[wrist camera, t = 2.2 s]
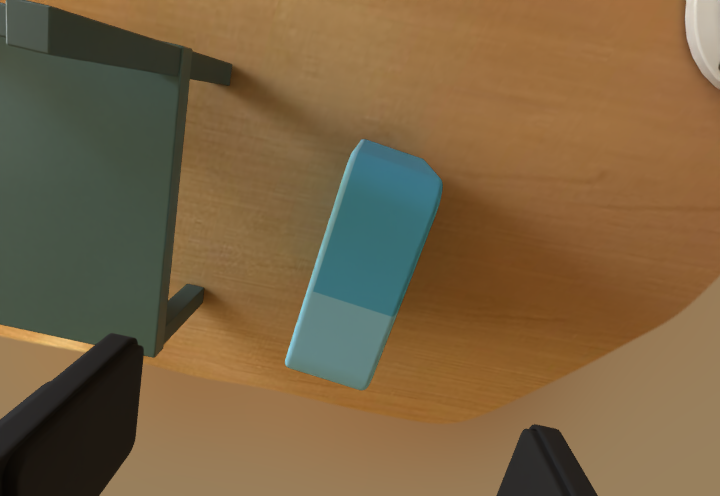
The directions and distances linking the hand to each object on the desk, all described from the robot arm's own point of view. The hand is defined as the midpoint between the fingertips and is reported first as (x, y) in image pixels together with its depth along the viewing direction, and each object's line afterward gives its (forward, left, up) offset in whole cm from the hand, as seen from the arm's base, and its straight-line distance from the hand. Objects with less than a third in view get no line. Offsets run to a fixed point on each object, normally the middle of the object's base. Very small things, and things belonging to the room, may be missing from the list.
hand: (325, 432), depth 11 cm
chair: (+18, +1, -23) cm, 29 cm away
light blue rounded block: (0, +1, -23) cm, 23 cm away
